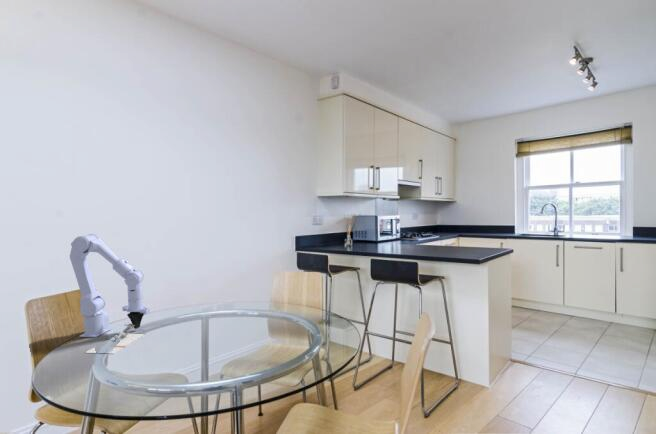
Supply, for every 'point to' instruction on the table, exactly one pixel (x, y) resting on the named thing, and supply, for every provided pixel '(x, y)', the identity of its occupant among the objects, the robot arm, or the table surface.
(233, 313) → the table surface
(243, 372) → the table surface
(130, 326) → the soldier figure
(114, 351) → the mat
